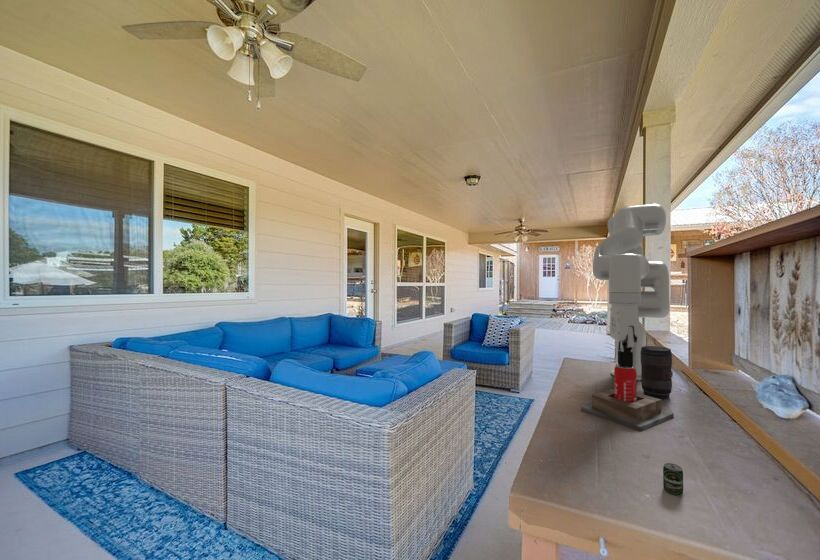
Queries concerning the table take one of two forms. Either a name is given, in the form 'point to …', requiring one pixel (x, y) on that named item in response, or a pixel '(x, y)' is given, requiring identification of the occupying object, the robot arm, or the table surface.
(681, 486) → the beer can
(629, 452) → the table surface
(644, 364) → the camera lens
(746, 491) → the table surface
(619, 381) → the beverage can
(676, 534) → the table surface
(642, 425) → the can holder
